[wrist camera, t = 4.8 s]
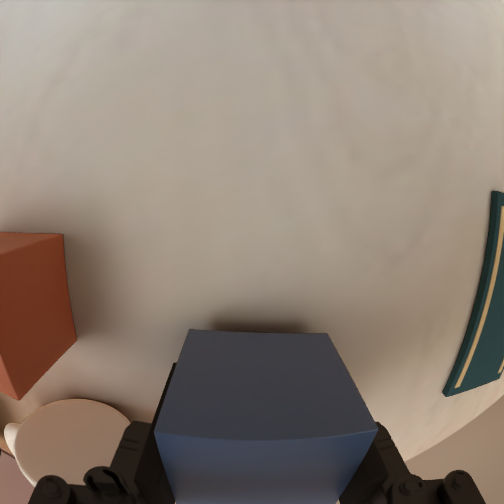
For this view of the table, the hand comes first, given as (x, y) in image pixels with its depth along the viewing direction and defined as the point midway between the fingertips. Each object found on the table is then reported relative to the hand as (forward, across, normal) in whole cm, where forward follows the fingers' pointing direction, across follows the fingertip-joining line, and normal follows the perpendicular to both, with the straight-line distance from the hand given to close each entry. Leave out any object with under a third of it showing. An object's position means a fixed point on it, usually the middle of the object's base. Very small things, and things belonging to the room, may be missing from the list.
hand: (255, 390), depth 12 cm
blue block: (0, 0, 0) cm, 0 cm away
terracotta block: (+2, -13, +4) cm, 13 cm away
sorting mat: (+2, +17, +4) cm, 18 cm away
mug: (+2, -12, -9) cm, 15 cm away
